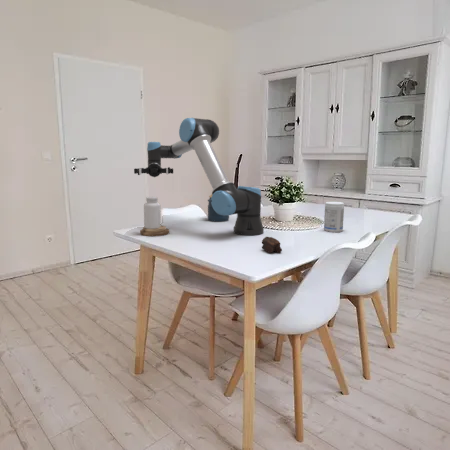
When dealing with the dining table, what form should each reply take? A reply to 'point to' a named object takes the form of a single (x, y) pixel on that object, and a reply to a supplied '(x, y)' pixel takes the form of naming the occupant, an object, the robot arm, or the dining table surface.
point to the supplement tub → (334, 216)
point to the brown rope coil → (154, 231)
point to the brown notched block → (271, 245)
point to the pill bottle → (152, 213)
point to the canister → (213, 215)
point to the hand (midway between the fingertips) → (153, 171)
